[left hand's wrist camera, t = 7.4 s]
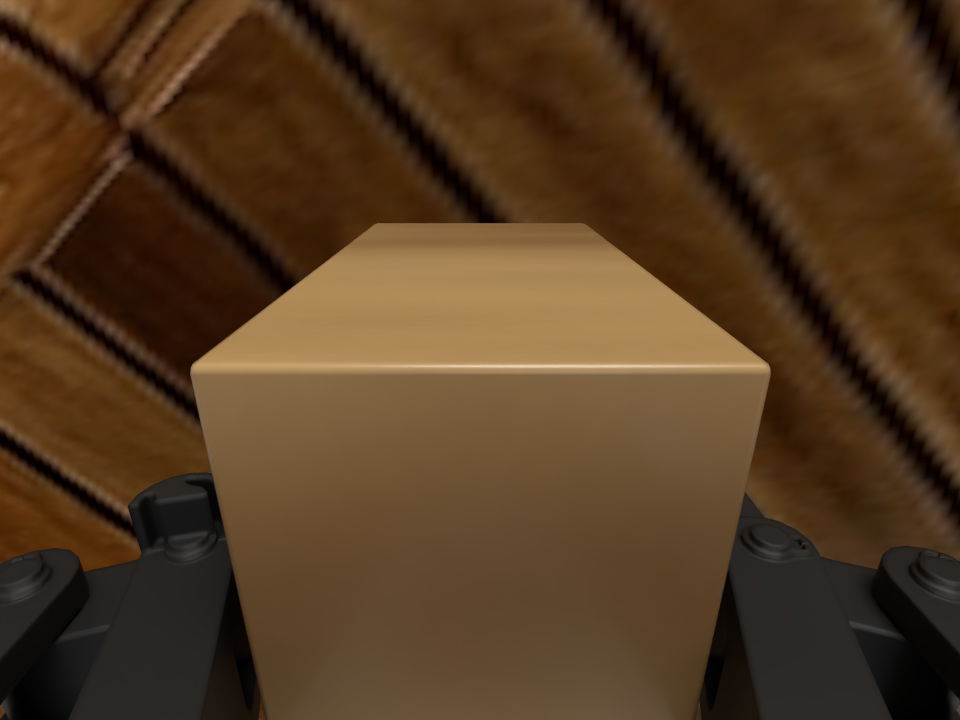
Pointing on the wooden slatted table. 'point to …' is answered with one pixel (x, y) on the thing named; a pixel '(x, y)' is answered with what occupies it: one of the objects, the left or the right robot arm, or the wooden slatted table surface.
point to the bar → (480, 479)
